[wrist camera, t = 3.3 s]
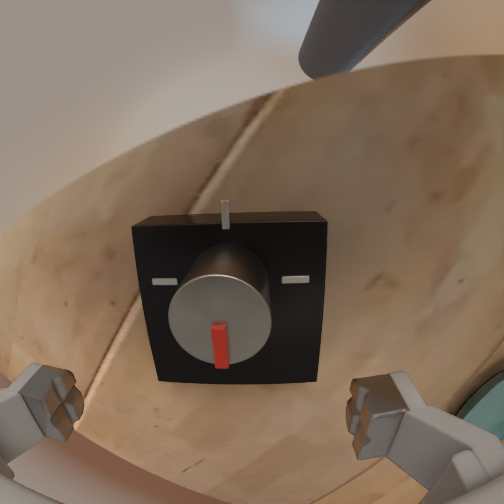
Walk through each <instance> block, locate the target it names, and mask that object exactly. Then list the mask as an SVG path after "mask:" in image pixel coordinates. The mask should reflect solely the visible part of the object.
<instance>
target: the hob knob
mask: <svg viewBox="0 0 504 504" xmlns="http://www.w3.org/2000/svg"><path fill="white" fill-rule="evenodd" d="M168 318H169V325H170V328H171V331H172V334H173V336H174V337H175V339H176V341H177V342H178V343H179V345H180V346H181V347H182V348H183V349H184V350H185V351H187V352H188V353H189V354H191V355H192V356H194V357H196V358H198V359H200V360H202V361H205V362H208V363H213V364H215V368H219V369H228V368H229V364H234V363H238V362H242V361H244V360H247V359H248V358H250V357H252V356H253V355H255V354H256V353H257V352H258V351H259V350H260V349H261V348H262V347H263V346H264V345H265V343H266V341H267V340H268V337H269V335H270V331H271V325H272V319H271V307H270V295H269V284H268V275H267V270H266V268H265V266H264V264H263V262H262V260H261V259H260V258H259V257H258V256H257V255H256V254H255V253H254V252H253V251H252V250H250V249H248V248H246V247H244V246H242V245H238V244H233V243H222V244H217V245H214V246H211V247H209V248H207V249H206V250H204V251H203V252H202V253H201V254H200V255H199V256H198V257H197V258H196V260H195V262H194V263H193V265H192V266H191V268H190V270H189V271H188V273H187V275H186V276H185V278H184V280H183V281H182V283H181V285H180V286H179V288H178V290H177V291H176V293H175V295H174V296H173V298H172V300H171V303H170V307H169V314H168Z"/></svg>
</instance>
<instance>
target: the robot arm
mask: <svg viewBox="0 0 504 504" xmlns="http://www.w3.org/2000/svg"><path fill="white" fill-rule="evenodd" d="M75 384H76V379H75V377H74V375H73V373H72V372H71V371H69V370H65V369H61V368H56V367H52V366H48V365H42V364H38V363H32V364H30V365H29V366H28V367H27V368H26V369H25V370H24V371H23V372H22V373H21V374H20V375H19V376H18V378H17V379H16V380H15V381H14V382H13V383H12V384H11V385H10V386H9V387H8V388H7V389H5V388H3V389H1V390H0V504H64V503H61V502H59V501H57V500H54V499H52V498H49V497H47V496H45V495H43V494H40V493H38V492H36V491H34V490H32V489H30V488H28V487H25V486H24V485H22V484H20V483H18V482H16V481H14V480H13V478H14V476H15V475H14V472H13V471H12V470H11V469H10V467H9V466H8V465H7V463H9V462H10V461H12V460H13V459H15V458H16V457H18V456H19V455H21V454H22V453H24V452H25V451H27V450H28V449H30V448H31V447H33V446H34V445H36V444H37V443H39V442H40V441H41V440H43V439H44V438H45V437H48V438H51V439H54V440H57V441H61V442H64V443H65V442H66V441H67V439H68V438H69V436H70V435H71V433H72V431H73V430H74V427H73V423H74V422H76V421H78V420H79V419H80V418H81V416H82V414H83V410H84V400H83V396H82V394H81V392H80V391H79V390H78V389H77V388H76V387H75ZM350 392H351V395H352V397H351V398H350V399H349V400H348V401H347V406H346V424H347V428H348V431H349V432H350V433H351V434H353V435H354V438H353V442H352V445H353V448H354V451H355V454H356V457H357V461H358V460H365V459H371V458H377V457H382V456H387V458H388V459H389V460H391V461H392V462H393V463H394V464H396V465H397V466H398V467H399V468H401V469H402V470H403V471H404V472H406V473H407V474H408V475H409V476H411V477H412V478H413V479H414V480H416V481H417V482H418V483H420V484H421V485H422V486H423V487H425V488H426V489H427V490H429V491H428V492H427V493H426V495H425V496H424V497H423V499H422V500H421V501H420V502H419V504H504V445H503V444H502V442H501V441H500V439H499V438H498V437H497V435H495V434H493V433H490V432H488V431H486V430H484V429H481V428H479V427H477V426H475V425H473V424H471V423H468V422H466V421H464V420H462V419H460V418H458V417H456V416H454V415H452V414H449V413H447V412H445V411H443V410H441V409H439V408H437V407H435V406H433V405H430V406H427V404H426V403H425V401H424V400H423V398H422V396H421V395H420V393H419V392H418V390H417V389H416V387H415V385H414V384H413V382H412V381H411V379H410V378H409V376H408V375H407V373H406V372H404V371H398V372H393V373H387V374H383V375H377V376H370V377H362V378H355V379H353V380H352V382H351V386H350Z"/></svg>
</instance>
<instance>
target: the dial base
mask: <svg viewBox="0 0 504 504" xmlns="http://www.w3.org/2000/svg"><path fill="white" fill-rule="evenodd" d="M327 225H328V221H327V220H326V219H325V218H323V217H322V216H321V215H320V214H319V213H317V212H316V211H308V212H249V213H229V200H221V213H216V214H191V215H170V216H151V217H148V218H146V219H145V220H143V221H141V222H139V223H137V224H135V225H134V226H132V236H133V245H134V253H135V260H136V267H137V274H138V281H139V287H140V293H141V299H142V305H143V310H144V316H145V321H146V326H147V331H148V336H149V341H150V346H151V350H152V355H153V359H154V363H155V368H156V372H157V376H158V380H159V381H165V382H180V383H199V384H285V383H304V382H316V381H317V373H318V364H319V354H320V344H321V333H322V321H323V308H324V293H325V276H326V255H327ZM222 243H233V244H238V245H242V246H244V247H246V248H248V249H250V250H252V251H253V252H254V253H255V254H256V255H257V256H258V257H259V258H260V259H261V260H262V262H263V264H264V266H265V268H266V270H267V275H268V284H269V295H270V307H271V319H272V325H271V331H270V335H269V337H268V340H267V341H266V343H265V345H264V346H263V347H262V348H261V349H260V350H259V351H258V352H257V353H256V354H255V355H253V356H252V357H250V358H248V359H247V360H244V361H242V362H238V363H234V364H229V368H228V369H219V368H215V364H213V363H208V362H205V361H202V360H200V359H198V358H196V357H194V356H192V355H191V354H189V353H188V352H187V351H185V350H184V349H183V348H182V347H181V346H180V345H179V343H178V342H177V341H176V339H175V337H174V336H173V334H172V331H171V328H170V325H169V318H168V314H169V307H170V303H171V300H172V298H173V296H174V295H175V293H176V291H177V290H178V288H179V286H180V285H181V283H182V281H183V280H184V278H185V276H186V275H187V273H188V271H189V270H190V268H191V266H192V265H193V263H194V262H195V260H196V258H197V257H198V256H199V255H200V254H201V253H202V252H203V251H204V250H206V249H207V248H209V247H211V246H214V245H217V244H222Z"/></svg>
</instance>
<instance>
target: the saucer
mask: <svg viewBox="0 0 504 504" xmlns="http://www.w3.org/2000/svg"><path fill="white" fill-rule="evenodd" d="M456 417H458V418H460V419H462V420H464V421H466V422H468V423H471V424H473V425H475V426H477V427H479V428H481V429H484V430H486V431H488V432H490V433H493V434H495V435H497V437H498V438H499V439H500V441H502V440H503V439H504V371H503V372H501V373H499V374H498V375H496V376H495V377H493V378H492V379H490V380H489V381H488V382H487V383H485V384H484V385H483V386H482V387H481V388H480V389H479V390H478V391H476V392H475V393H474V394H473V396H472V397H471V398H470V399H469V400H468V401H467V402H466V403H465V405H464V406H463V407H462V408H461V410H460V411H459V413H458V414H457V416H456Z"/></svg>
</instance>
